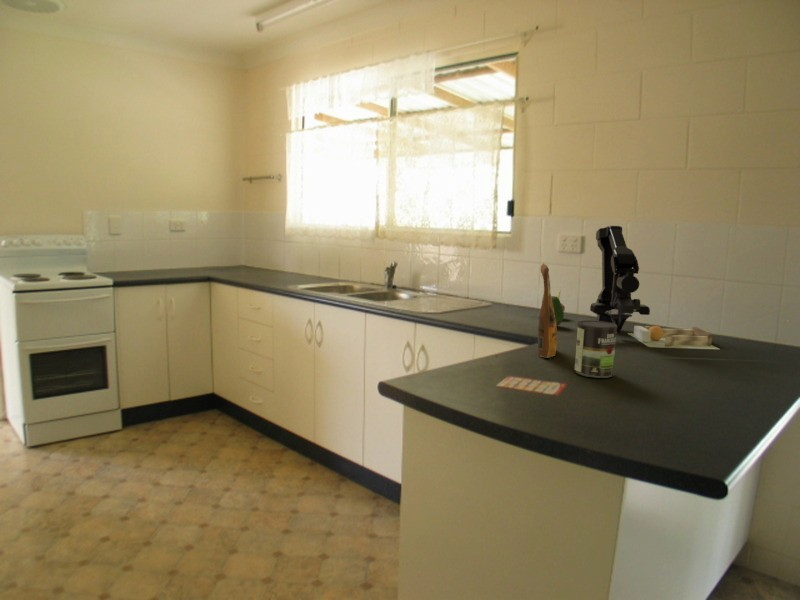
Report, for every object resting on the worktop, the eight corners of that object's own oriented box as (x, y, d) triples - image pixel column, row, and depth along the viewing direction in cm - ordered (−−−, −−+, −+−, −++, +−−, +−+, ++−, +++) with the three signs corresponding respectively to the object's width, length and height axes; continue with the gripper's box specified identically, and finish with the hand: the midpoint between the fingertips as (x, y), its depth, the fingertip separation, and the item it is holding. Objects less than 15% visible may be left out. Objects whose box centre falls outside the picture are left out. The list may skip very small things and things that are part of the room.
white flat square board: (648, 348, 191) (648, 346, 191) (626, 334, 213) (626, 332, 213) (720, 350, 190) (720, 349, 190) (690, 336, 211) (691, 335, 211)
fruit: (565, 329, 220) (567, 297, 218) (544, 328, 220) (546, 297, 218) (560, 325, 228) (562, 294, 226) (540, 324, 228) (541, 294, 226)
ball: (650, 341, 199) (651, 327, 198) (644, 338, 204) (646, 324, 203) (665, 341, 199) (666, 327, 198) (659, 338, 204) (660, 324, 203)
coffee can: (621, 376, 157) (625, 325, 155) (593, 381, 152) (597, 328, 150) (593, 367, 166) (596, 319, 164) (565, 371, 161) (569, 321, 159)
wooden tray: (665, 346, 191) (666, 335, 191) (643, 333, 212) (644, 323, 211) (716, 348, 190) (718, 336, 190) (689, 335, 211) (690, 324, 210)
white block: (642, 341, 197) (643, 331, 197) (633, 335, 206) (634, 325, 206) (649, 341, 197) (650, 331, 196) (640, 336, 206) (641, 325, 206)
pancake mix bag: (531, 359, 173) (537, 266, 169) (536, 345, 191) (541, 261, 187) (555, 361, 171) (561, 267, 167) (557, 347, 189) (562, 262, 185)
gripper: (600, 291, 192) (596, 337, 194) (657, 293, 191) (653, 339, 193) (591, 287, 203) (588, 330, 205) (645, 288, 202) (641, 332, 204)
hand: (617, 333), depth 202 cm, fingers closed
